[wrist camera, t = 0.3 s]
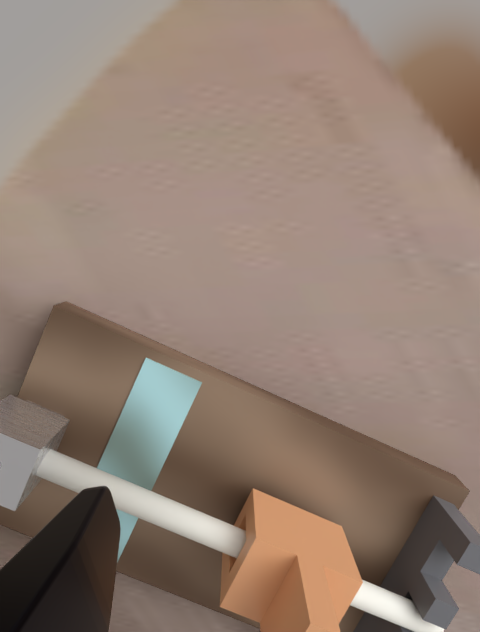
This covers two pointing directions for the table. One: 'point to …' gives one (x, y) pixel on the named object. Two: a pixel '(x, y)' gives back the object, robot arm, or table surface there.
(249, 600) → the orange stepped block
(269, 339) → the table surface
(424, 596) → the cable comb
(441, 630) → the cord
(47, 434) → the block
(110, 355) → the cord board
